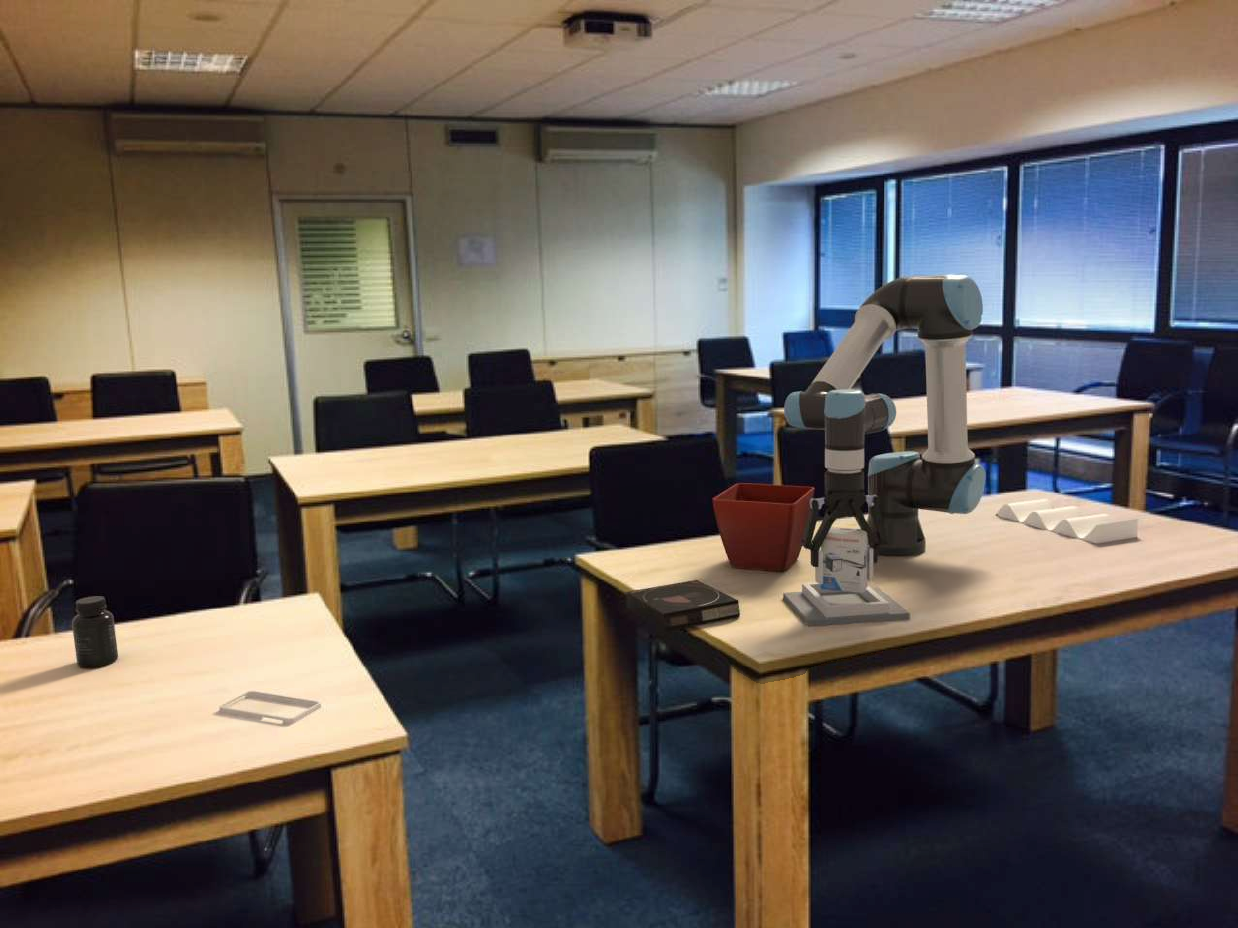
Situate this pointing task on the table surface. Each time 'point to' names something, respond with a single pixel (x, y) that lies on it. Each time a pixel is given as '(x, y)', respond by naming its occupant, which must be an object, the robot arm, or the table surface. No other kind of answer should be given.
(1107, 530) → the white wavy ridged block
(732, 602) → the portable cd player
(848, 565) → the ink box
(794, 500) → the plant pot
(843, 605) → the square ring on plate
